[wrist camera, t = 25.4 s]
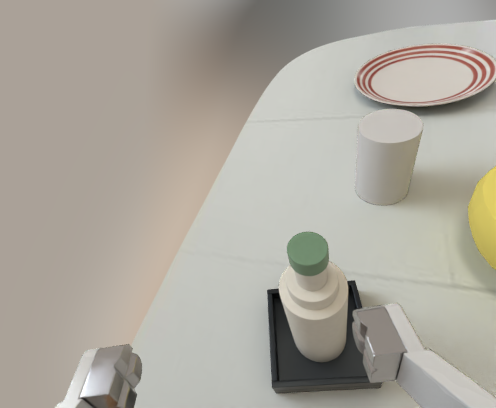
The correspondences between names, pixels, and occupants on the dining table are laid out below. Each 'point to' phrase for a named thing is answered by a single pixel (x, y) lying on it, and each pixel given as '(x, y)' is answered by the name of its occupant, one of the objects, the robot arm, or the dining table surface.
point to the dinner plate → (426, 75)
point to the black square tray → (305, 370)
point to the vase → (484, 216)
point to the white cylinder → (386, 155)
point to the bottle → (314, 298)
